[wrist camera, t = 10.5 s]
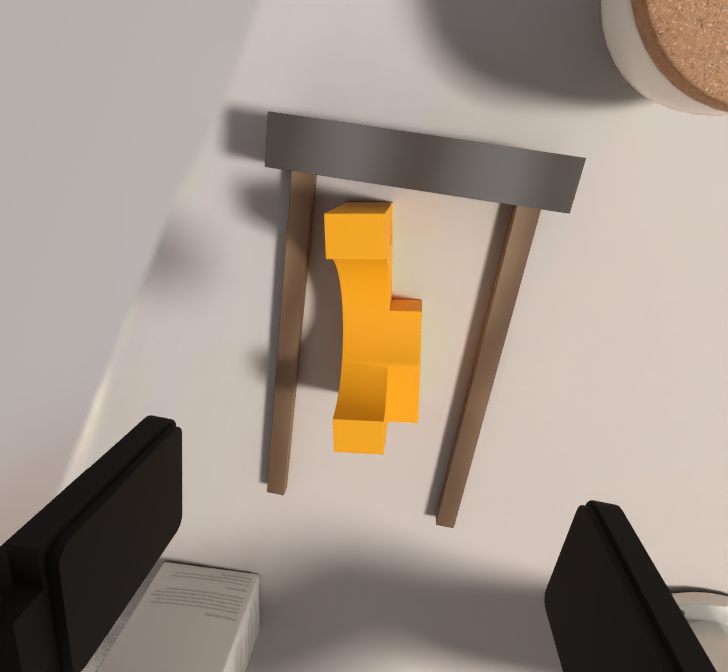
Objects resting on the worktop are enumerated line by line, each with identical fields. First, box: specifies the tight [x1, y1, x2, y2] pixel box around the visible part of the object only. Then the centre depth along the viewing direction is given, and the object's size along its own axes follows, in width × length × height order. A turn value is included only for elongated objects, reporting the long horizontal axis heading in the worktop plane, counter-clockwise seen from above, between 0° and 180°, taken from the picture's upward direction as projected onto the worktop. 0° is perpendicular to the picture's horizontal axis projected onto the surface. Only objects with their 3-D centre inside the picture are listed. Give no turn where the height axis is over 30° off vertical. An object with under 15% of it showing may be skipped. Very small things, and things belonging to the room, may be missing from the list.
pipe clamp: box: [324, 202, 422, 455], centre depth 24 cm, size 12×4×6 cm, turn 1°
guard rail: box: [265, 111, 586, 528], centre depth 26 cm, size 14×24×4 cm, turn 172°
